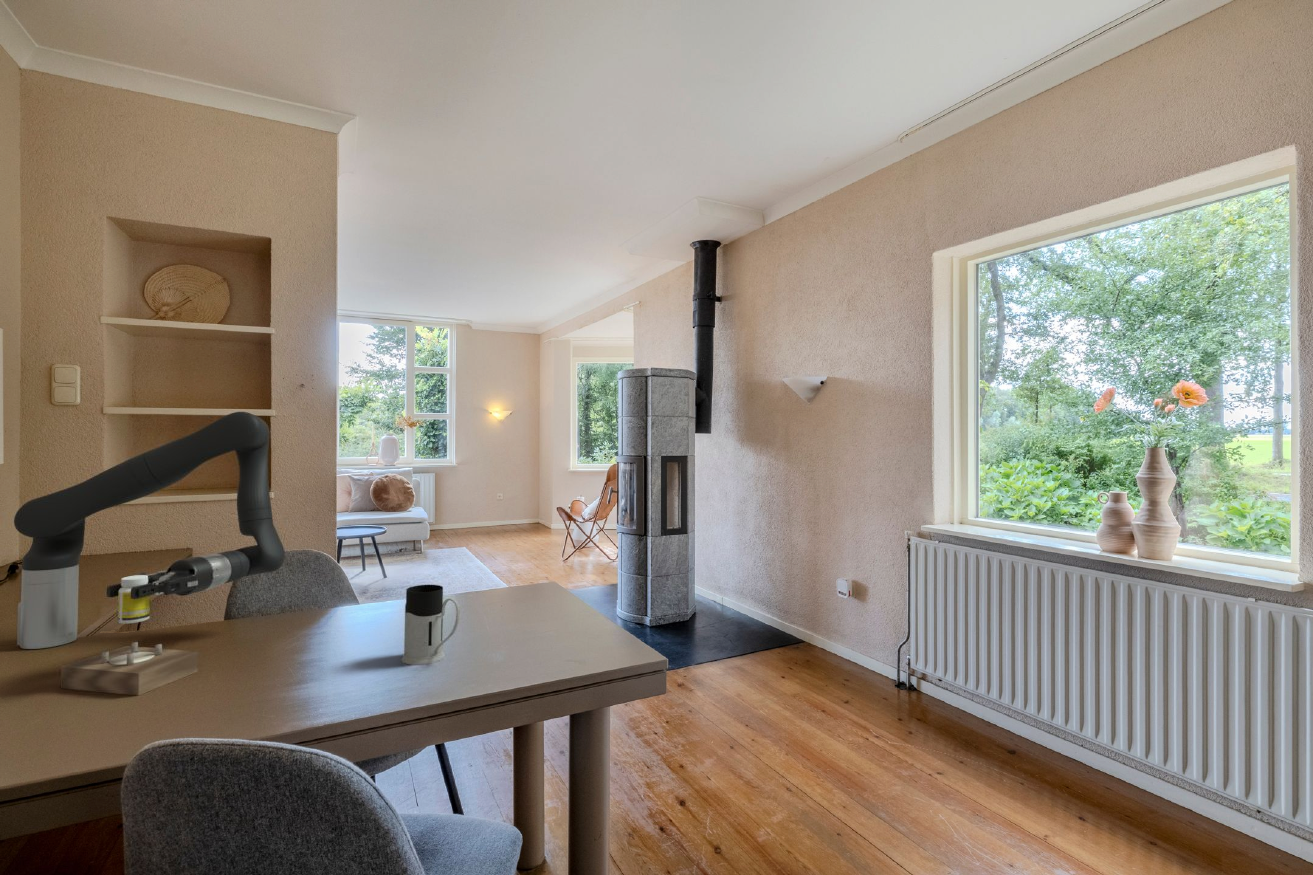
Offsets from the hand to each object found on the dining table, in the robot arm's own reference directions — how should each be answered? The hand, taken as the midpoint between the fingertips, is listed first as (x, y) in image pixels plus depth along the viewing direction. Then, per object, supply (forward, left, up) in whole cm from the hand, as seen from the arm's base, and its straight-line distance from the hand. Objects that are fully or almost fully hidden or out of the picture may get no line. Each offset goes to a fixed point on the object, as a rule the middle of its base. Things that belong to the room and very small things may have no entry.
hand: (120, 592), depth 118 cm
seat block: (0, +3, -17) cm, 18 cm away
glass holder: (+50, +25, -18) cm, 59 cm away
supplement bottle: (0, +3, -6) cm, 7 cm away
